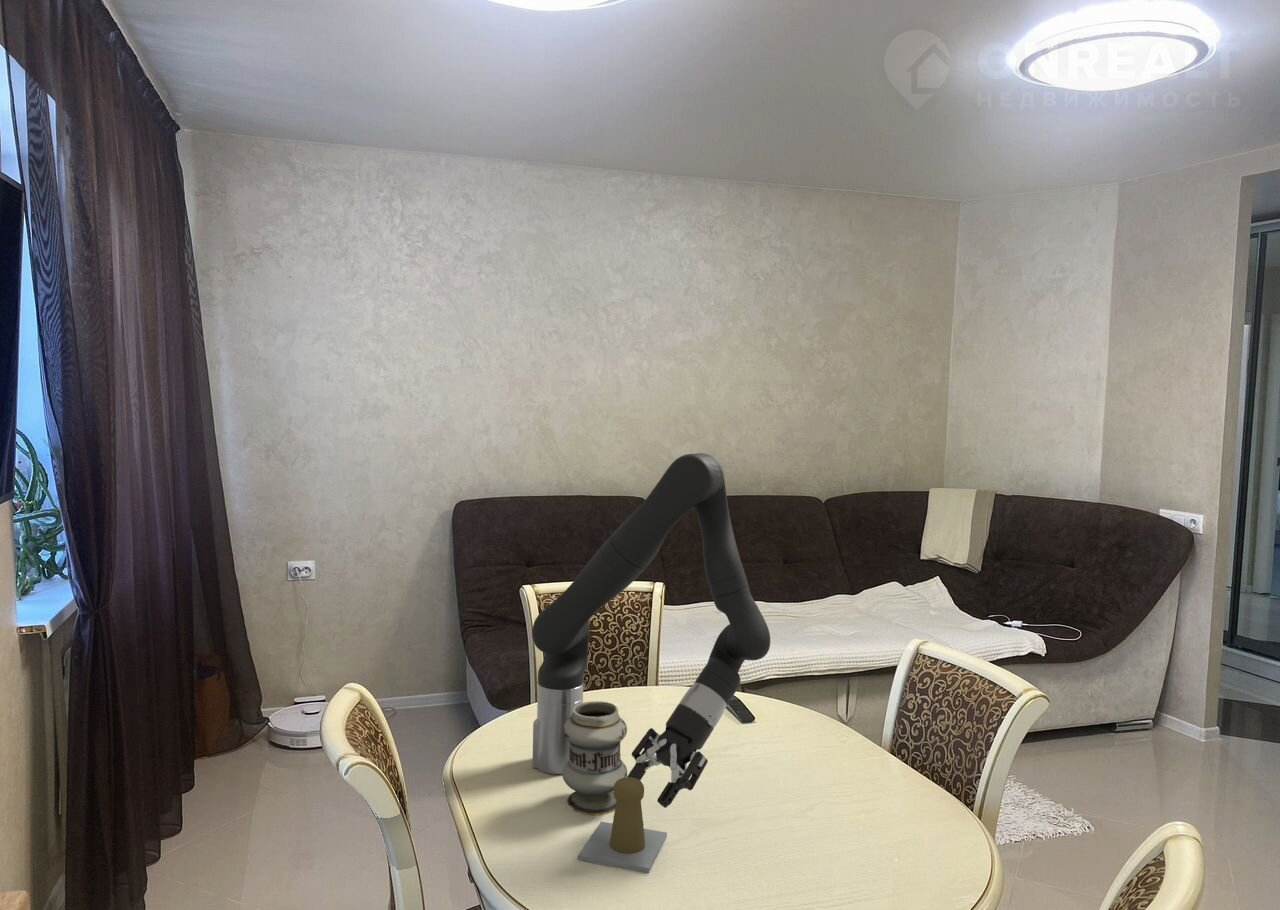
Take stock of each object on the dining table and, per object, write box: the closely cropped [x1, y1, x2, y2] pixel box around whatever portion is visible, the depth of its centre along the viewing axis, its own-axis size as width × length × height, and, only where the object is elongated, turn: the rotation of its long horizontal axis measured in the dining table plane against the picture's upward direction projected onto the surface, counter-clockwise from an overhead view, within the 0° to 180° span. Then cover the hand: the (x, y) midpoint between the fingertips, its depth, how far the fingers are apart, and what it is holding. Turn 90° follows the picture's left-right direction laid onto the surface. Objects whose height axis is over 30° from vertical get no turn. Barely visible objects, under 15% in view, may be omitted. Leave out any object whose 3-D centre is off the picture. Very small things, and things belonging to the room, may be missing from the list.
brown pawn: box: [610, 777, 645, 854], centre depth 146 cm, size 6×6×11 cm
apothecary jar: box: [561, 700, 628, 816], centre depth 162 cm, size 12×12×18 cm
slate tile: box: [577, 821, 668, 874], centre depth 147 cm, size 12×12×1 cm
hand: (645, 795), depth 149 cm, fingers open, 8 cm apart
